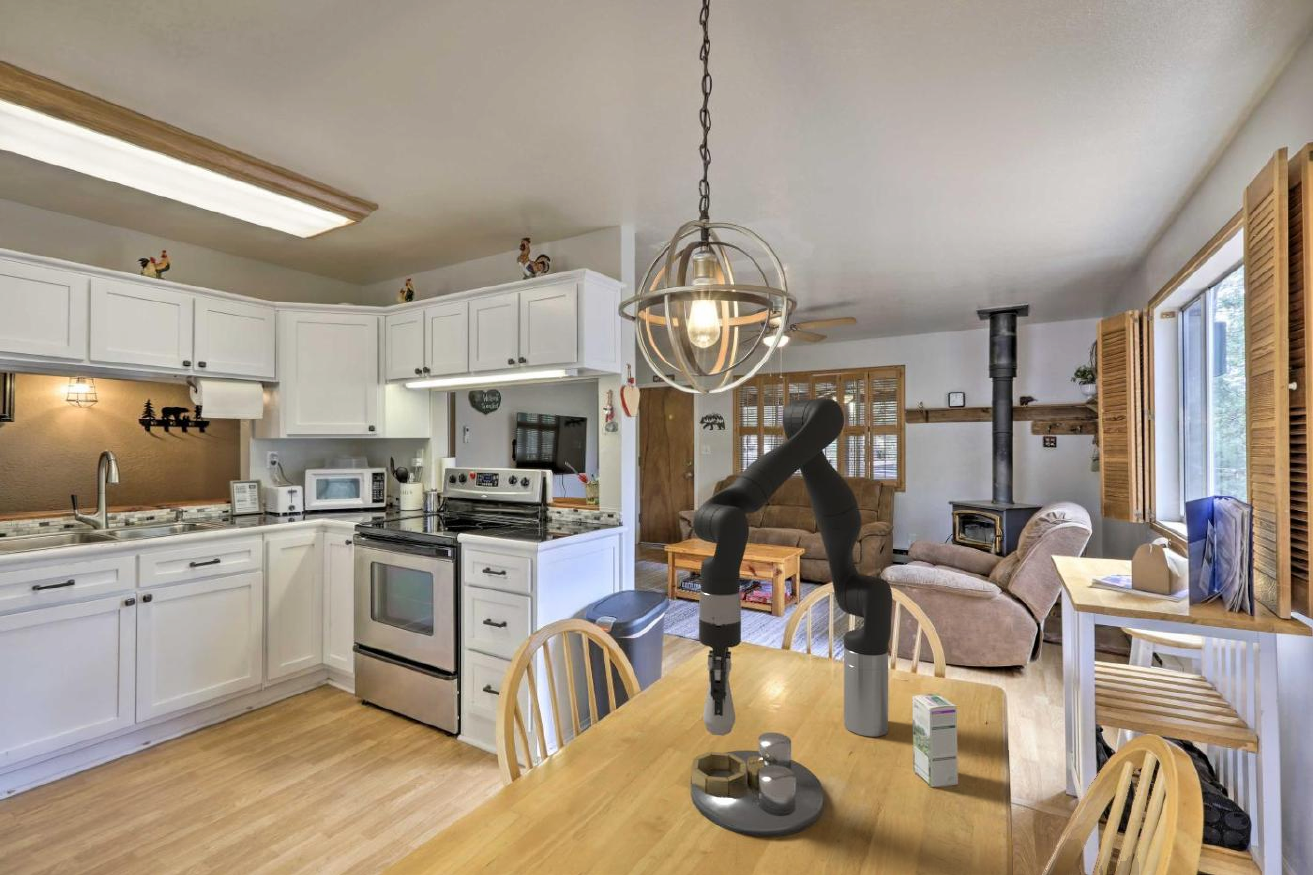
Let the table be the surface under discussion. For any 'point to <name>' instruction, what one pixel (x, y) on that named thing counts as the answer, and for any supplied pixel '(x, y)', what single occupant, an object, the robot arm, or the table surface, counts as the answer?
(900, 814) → the table surface
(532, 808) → the table surface
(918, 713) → the syrup box
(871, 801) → the table surface
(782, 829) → the carrier
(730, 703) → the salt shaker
